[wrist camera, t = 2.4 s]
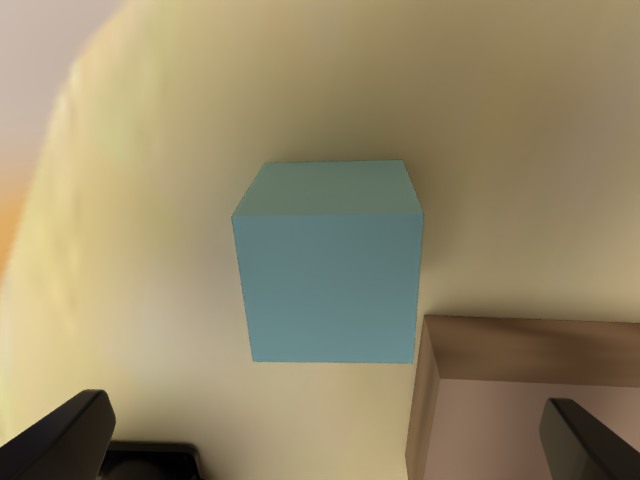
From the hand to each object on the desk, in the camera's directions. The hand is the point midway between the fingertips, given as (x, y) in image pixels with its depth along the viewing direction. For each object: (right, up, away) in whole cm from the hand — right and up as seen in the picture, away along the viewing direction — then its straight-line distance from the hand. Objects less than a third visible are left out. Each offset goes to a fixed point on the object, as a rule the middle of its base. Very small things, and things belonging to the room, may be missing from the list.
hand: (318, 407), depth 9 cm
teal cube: (+1, +4, +8) cm, 9 cm away
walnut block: (+9, -4, +12) cm, 15 cm away
